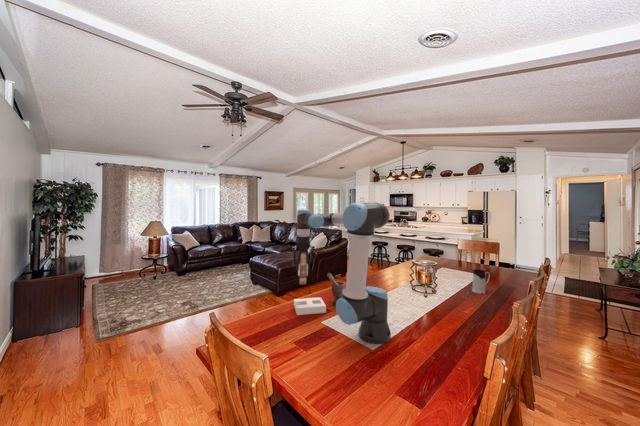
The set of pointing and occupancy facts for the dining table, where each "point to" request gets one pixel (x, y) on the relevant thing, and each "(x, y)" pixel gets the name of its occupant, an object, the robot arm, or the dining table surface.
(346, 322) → the robot arm
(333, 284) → the mortar and pestle
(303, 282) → the leg peg
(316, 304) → the board
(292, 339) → the dining table surface
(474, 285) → the grey mug
